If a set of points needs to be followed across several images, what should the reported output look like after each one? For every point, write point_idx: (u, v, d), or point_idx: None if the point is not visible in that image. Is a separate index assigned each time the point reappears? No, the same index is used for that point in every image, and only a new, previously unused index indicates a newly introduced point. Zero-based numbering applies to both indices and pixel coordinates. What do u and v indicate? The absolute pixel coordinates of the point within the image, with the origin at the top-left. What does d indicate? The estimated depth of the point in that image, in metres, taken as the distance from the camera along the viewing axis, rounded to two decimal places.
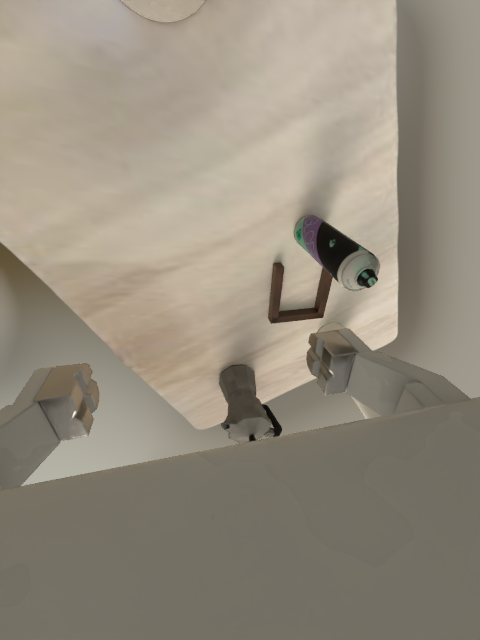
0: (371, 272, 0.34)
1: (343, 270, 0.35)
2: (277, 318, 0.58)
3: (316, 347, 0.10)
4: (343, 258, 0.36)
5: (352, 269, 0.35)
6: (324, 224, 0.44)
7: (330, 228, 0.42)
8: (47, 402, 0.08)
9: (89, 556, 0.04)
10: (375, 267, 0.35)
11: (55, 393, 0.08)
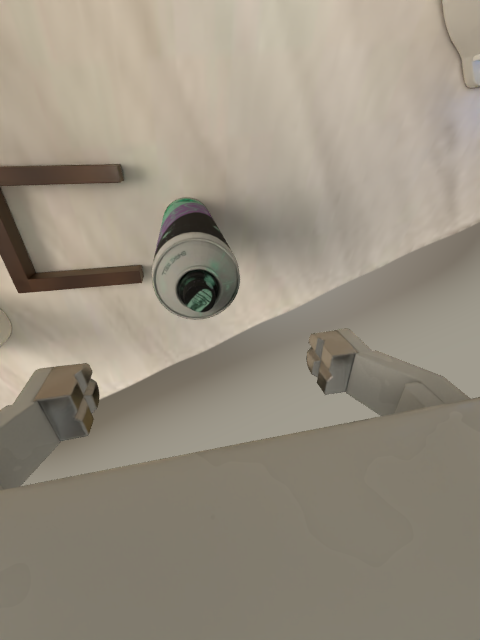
0: (215, 295, 0.16)
1: (202, 239, 0.16)
2: None
3: (316, 347, 0.10)
4: (220, 239, 0.17)
5: (211, 255, 0.16)
6: None
7: None
8: (47, 402, 0.08)
9: (89, 556, 0.04)
10: (216, 305, 0.17)
11: (55, 393, 0.08)
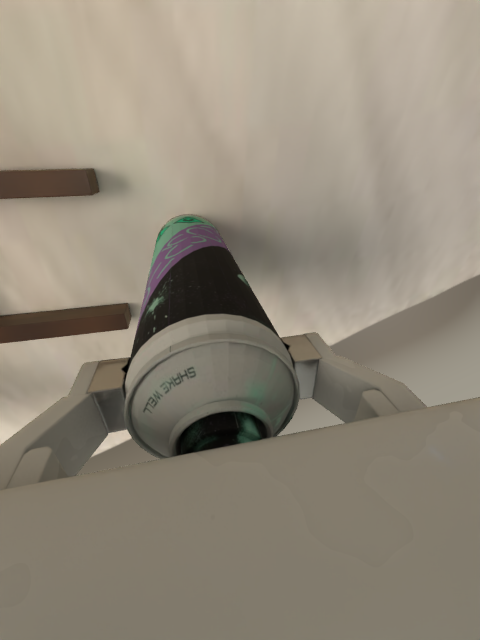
0: None
1: (230, 335, 0.07)
2: None
3: None
4: (260, 320, 0.09)
5: (249, 372, 0.07)
6: None
7: None
8: (100, 394, 0.08)
9: (89, 556, 0.04)
10: None
11: (107, 385, 0.08)
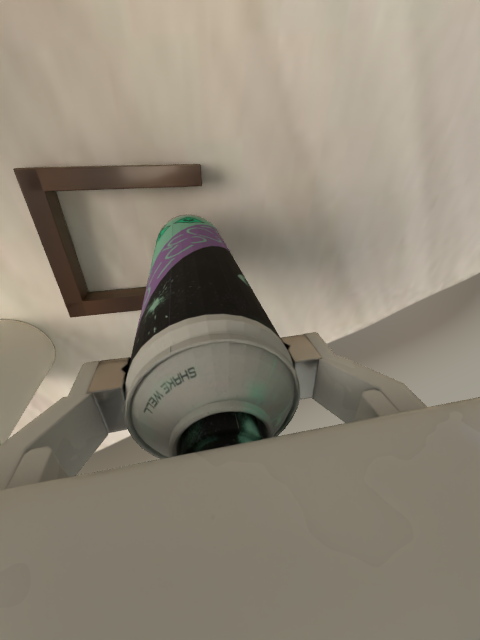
0: None
1: (230, 335, 0.07)
2: (39, 189, 0.20)
3: None
4: (261, 320, 0.09)
5: (249, 372, 0.07)
6: None
7: None
8: (100, 394, 0.08)
9: (89, 556, 0.04)
10: None
11: (107, 385, 0.08)
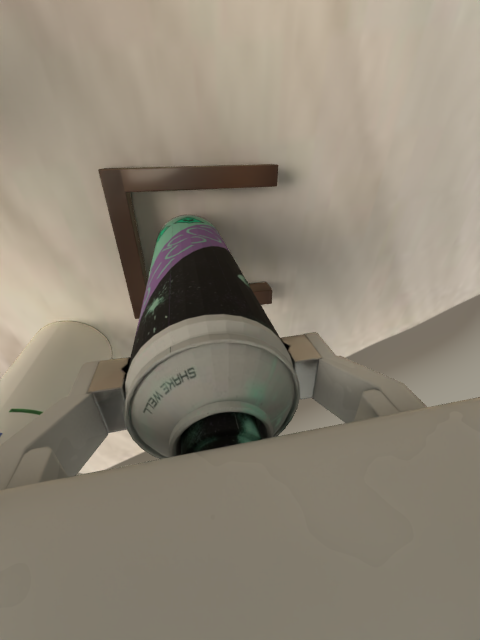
0: None
1: (230, 335, 0.07)
2: (120, 190, 0.20)
3: None
4: (261, 320, 0.09)
5: (249, 373, 0.07)
6: None
7: None
8: (100, 394, 0.08)
9: (89, 556, 0.04)
10: None
11: (107, 386, 0.08)
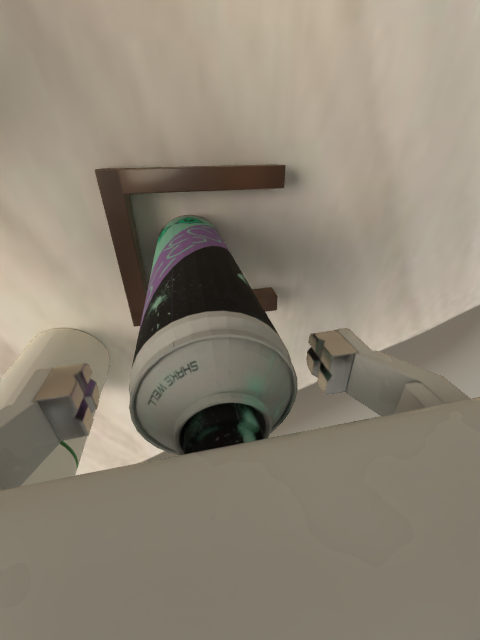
0: None
1: (230, 331, 0.08)
2: (118, 191, 0.19)
3: (316, 347, 0.10)
4: (259, 317, 0.09)
5: (249, 366, 0.08)
6: None
7: None
8: (47, 402, 0.08)
9: (89, 556, 0.04)
10: None
11: (55, 393, 0.08)
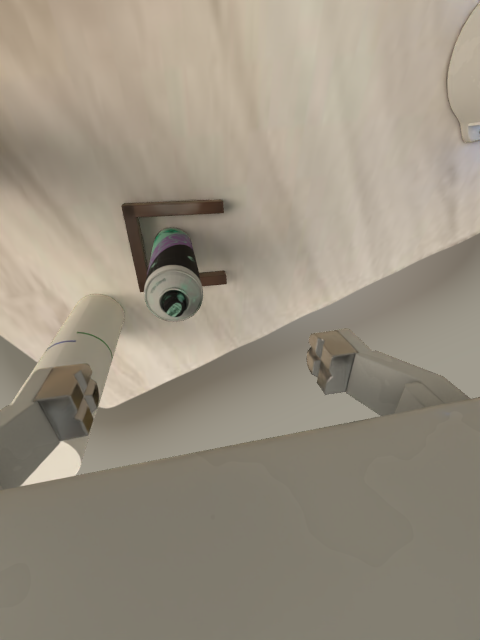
0: (185, 306, 0.24)
1: (176, 270, 0.24)
2: (133, 216, 0.35)
3: (316, 347, 0.10)
4: (189, 268, 0.26)
5: (182, 281, 0.24)
6: None
7: None
8: (47, 402, 0.08)
9: (89, 556, 0.04)
10: (187, 312, 0.26)
11: (55, 393, 0.08)
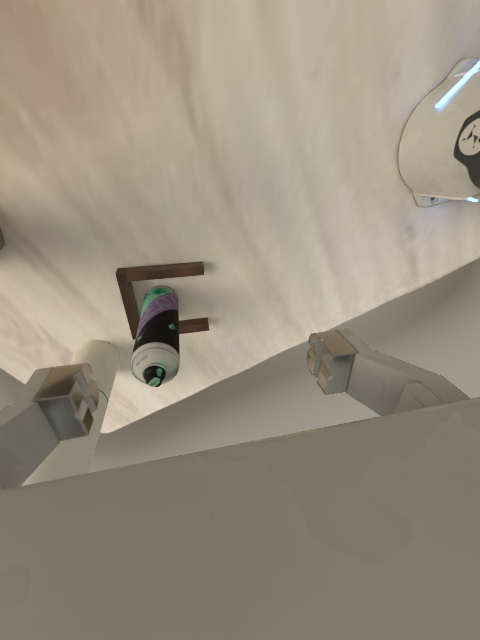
0: (163, 377, 0.30)
1: (156, 348, 0.30)
2: (125, 280, 0.41)
3: (316, 347, 0.10)
4: (167, 343, 0.32)
5: (160, 357, 0.30)
6: None
7: (178, 321, 0.40)
8: (47, 402, 0.08)
9: (89, 556, 0.04)
10: (166, 378, 0.32)
11: (55, 393, 0.08)
